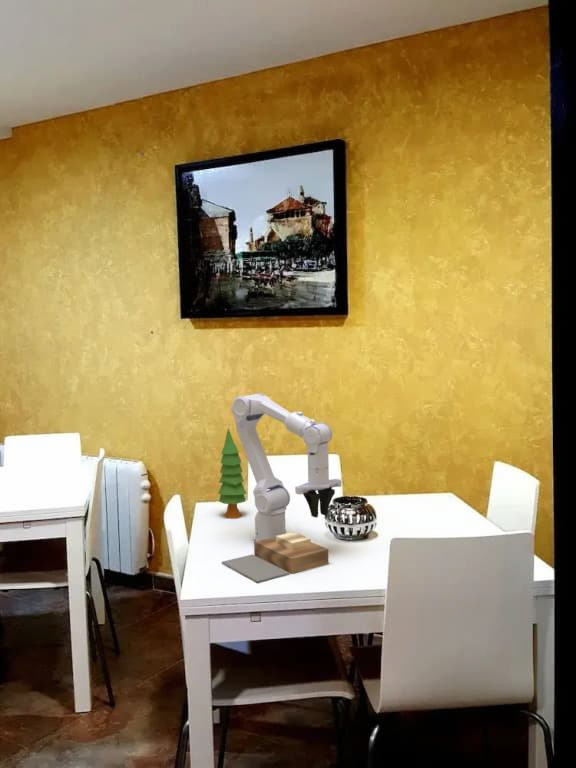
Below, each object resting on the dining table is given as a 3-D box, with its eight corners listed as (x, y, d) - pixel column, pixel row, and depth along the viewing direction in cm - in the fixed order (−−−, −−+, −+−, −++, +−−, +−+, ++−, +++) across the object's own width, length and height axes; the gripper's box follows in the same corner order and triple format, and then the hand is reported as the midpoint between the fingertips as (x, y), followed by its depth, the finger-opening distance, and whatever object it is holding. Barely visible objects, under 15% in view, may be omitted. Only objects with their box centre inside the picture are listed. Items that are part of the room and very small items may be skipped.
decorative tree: (216, 519, 232) (213, 429, 229) (222, 511, 241) (219, 424, 238) (245, 519, 230) (242, 429, 227) (250, 511, 239) (247, 424, 237)
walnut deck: (254, 555, 194) (254, 541, 194) (290, 546, 201) (289, 533, 201) (291, 573, 180) (291, 558, 179) (328, 563, 186) (328, 549, 186)
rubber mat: (221, 563, 189) (221, 561, 189) (252, 556, 194) (252, 554, 194) (257, 583, 174) (257, 581, 174) (289, 574, 179) (289, 572, 179)
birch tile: (276, 543, 192) (275, 535, 192) (293, 538, 196) (293, 531, 195) (292, 550, 186) (292, 543, 185) (310, 545, 189) (310, 538, 189)
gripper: (305, 473, 186) (306, 523, 188) (347, 466, 195) (348, 514, 196) (290, 469, 192) (291, 517, 194) (332, 462, 200) (333, 508, 202)
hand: (319, 515), depth 195 cm, fingers open, 3 cm apart
